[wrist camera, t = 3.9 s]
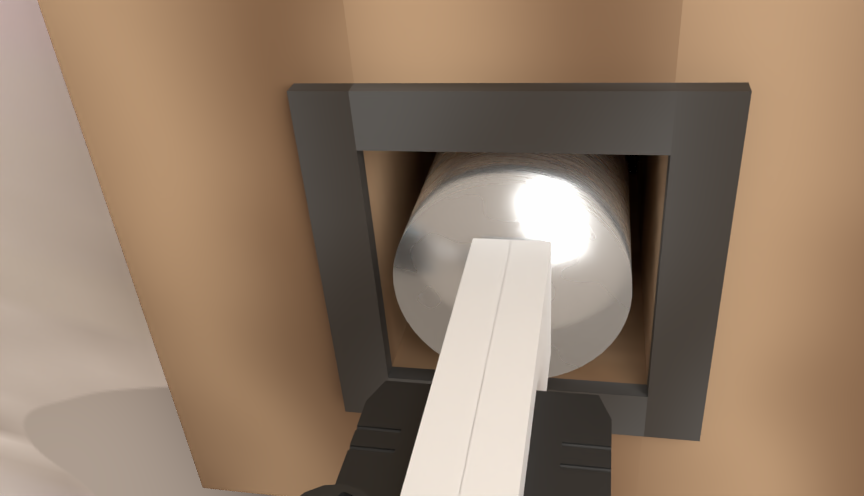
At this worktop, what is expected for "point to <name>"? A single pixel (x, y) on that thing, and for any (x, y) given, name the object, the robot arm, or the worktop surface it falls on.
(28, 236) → the worktop surface
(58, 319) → the worktop surface
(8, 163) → the worktop surface
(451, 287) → the peg
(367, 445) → the robot arm
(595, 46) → the socket block
